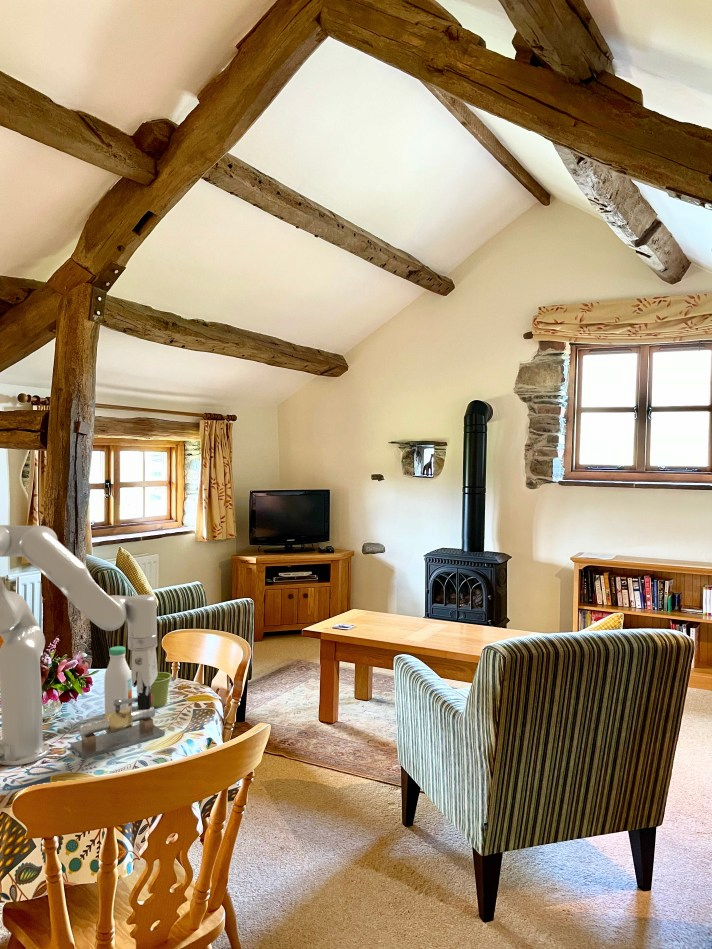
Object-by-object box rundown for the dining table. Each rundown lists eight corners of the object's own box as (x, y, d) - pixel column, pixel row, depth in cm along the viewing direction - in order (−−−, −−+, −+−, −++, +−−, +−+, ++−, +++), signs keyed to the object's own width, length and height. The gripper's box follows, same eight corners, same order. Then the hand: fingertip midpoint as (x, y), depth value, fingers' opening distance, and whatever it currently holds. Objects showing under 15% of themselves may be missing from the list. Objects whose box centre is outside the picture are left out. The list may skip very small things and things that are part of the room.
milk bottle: (123, 720, 205) (122, 652, 205) (99, 718, 207) (98, 650, 206) (137, 710, 213) (135, 644, 212) (113, 708, 215) (112, 643, 214)
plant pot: (155, 712, 211) (155, 683, 211) (134, 706, 216) (133, 678, 216) (178, 702, 219) (178, 675, 219) (157, 697, 224) (156, 670, 224)
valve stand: (84, 759, 179) (83, 721, 179) (70, 746, 187) (69, 710, 187) (164, 735, 194) (163, 700, 194) (148, 724, 201) (148, 691, 201)
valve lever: (113, 708, 189) (113, 701, 189) (112, 705, 191) (112, 698, 191) (152, 701, 193) (152, 695, 193) (151, 699, 195) (151, 692, 195)
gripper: (150, 648, 182) (152, 718, 183) (162, 633, 197) (164, 698, 198) (121, 649, 182) (123, 719, 182) (135, 634, 197) (137, 699, 197)
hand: (144, 708), depth 190 cm, fingers closed
